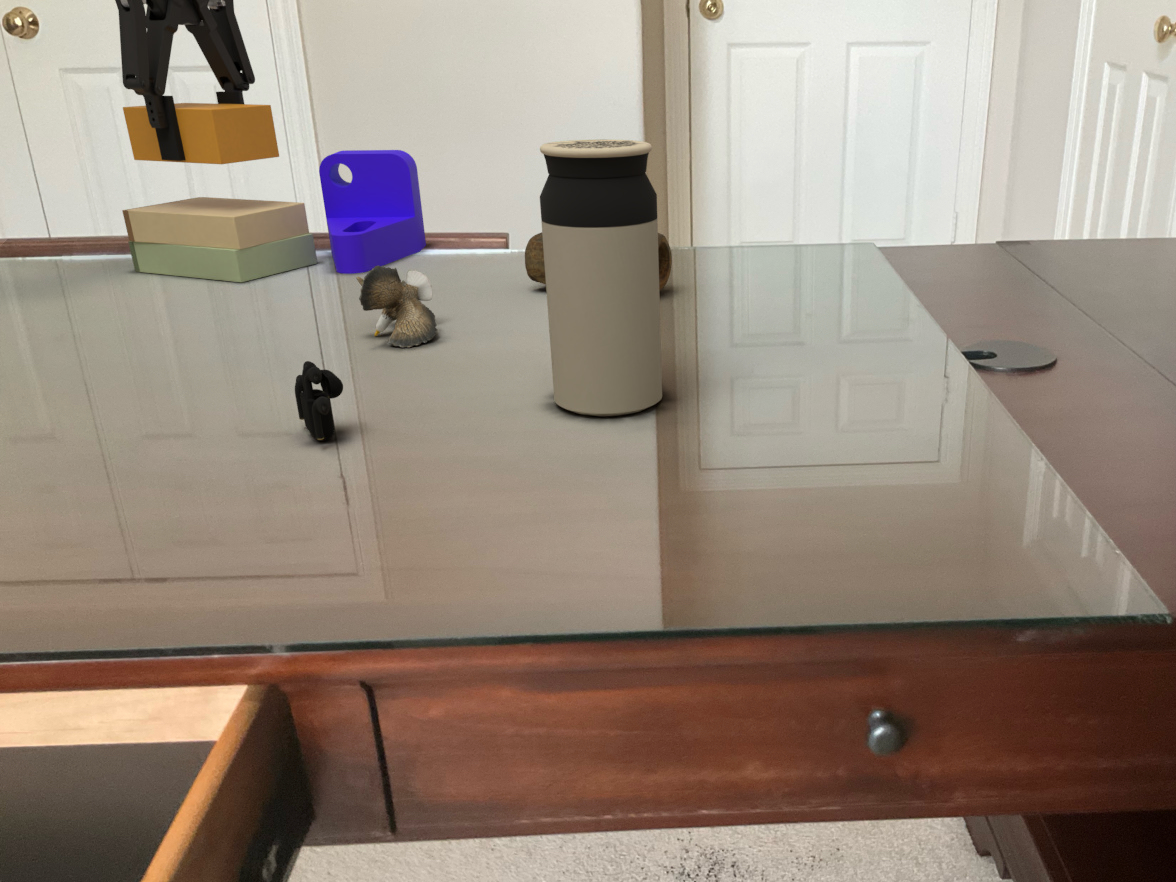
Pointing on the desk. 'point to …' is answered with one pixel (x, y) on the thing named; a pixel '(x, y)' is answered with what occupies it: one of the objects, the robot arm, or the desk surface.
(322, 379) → the wireless earbuds
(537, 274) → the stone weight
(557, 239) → the travel mug
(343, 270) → the bracket
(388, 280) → the eagle figurine
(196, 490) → the desk surface
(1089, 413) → the desk surface
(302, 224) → the beige and green block
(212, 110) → the orange block
